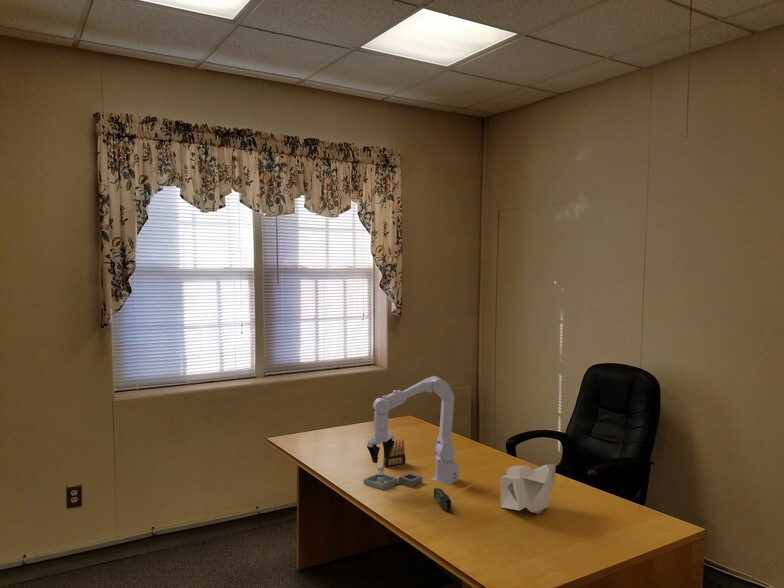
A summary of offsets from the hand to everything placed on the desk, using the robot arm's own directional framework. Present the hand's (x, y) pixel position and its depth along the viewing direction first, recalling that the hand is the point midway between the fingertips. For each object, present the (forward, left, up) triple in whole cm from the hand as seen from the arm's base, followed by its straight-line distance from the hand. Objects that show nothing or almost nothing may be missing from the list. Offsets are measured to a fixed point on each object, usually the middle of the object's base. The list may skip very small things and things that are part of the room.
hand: (380, 460), depth 241 cm
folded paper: (-60, -18, -10) cm, 64 cm away
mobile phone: (-32, +1, -11) cm, 34 cm away
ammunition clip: (+10, -21, -10) cm, 26 cm away
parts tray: (0, 0, -10) cm, 10 cm away
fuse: (0, 0, -10) cm, 10 cm away
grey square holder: (-9, -8, -10) cm, 16 cm away
